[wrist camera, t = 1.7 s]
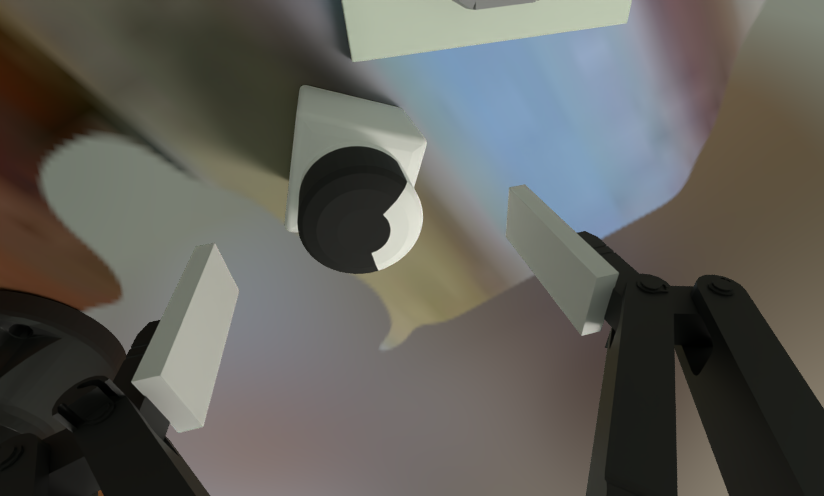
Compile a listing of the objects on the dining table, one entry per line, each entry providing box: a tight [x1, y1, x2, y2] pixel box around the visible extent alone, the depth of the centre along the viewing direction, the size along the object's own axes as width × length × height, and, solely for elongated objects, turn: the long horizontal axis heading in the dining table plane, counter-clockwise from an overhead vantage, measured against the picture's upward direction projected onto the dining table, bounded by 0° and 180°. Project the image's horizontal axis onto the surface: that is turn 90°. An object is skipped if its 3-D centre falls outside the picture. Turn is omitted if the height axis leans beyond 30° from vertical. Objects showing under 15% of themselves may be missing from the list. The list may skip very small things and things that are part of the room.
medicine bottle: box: [284, 85, 427, 274], centre depth 22 cm, size 7×7×12 cm
